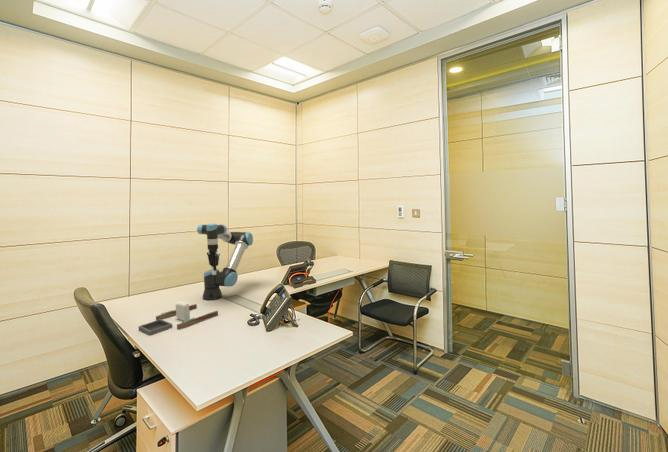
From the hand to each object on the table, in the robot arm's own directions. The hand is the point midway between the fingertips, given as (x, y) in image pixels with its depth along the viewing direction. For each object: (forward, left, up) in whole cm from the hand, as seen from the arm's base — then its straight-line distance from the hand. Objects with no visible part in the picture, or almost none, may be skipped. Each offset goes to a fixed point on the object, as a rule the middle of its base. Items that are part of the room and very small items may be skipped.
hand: (214, 274), depth 247 cm
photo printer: (+6, -30, -24) cm, 39 cm away
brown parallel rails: (+6, -27, -24) cm, 37 cm away
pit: (+6, -49, -24) cm, 55 cm away
